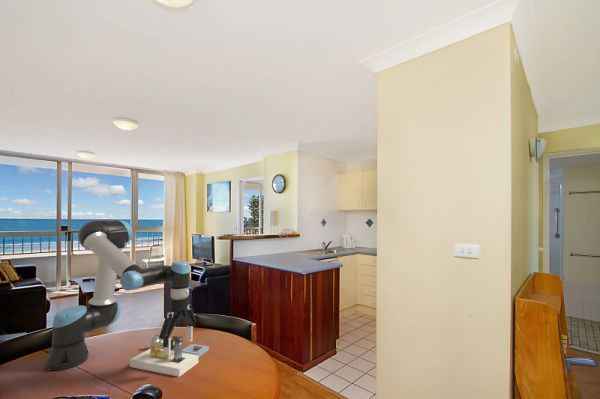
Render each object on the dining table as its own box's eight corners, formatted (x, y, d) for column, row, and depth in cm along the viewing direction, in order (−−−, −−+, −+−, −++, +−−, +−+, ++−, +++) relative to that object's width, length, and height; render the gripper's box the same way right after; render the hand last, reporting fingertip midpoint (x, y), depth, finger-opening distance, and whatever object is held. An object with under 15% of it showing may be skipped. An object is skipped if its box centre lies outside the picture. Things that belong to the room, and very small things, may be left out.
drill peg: (171, 368, 120) (172, 339, 120) (177, 364, 123) (178, 336, 124) (178, 369, 119) (179, 340, 119) (183, 365, 122) (184, 337, 123)
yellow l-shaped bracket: (150, 356, 123) (150, 345, 124) (155, 353, 126) (156, 342, 127) (166, 359, 121) (167, 347, 121) (172, 355, 124) (172, 344, 124)
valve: (147, 352, 137) (170, 353, 136) (147, 338, 137) (171, 339, 136) (155, 346, 143) (177, 347, 142) (155, 332, 144) (178, 333, 143)
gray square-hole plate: (180, 356, 132) (180, 350, 132) (191, 349, 140) (192, 343, 140) (198, 359, 129) (198, 353, 129) (208, 351, 137) (209, 346, 137)
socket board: (129, 369, 121) (130, 359, 121) (151, 356, 132) (152, 347, 132) (179, 379, 113) (179, 368, 113) (198, 364, 124) (198, 355, 125)
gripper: (165, 306, 110) (163, 362, 108) (204, 291, 134) (204, 337, 132) (150, 304, 112) (148, 359, 110) (191, 290, 136) (190, 335, 134)
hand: (178, 347), depth 121 cm, fingers open, 13 cm apart
